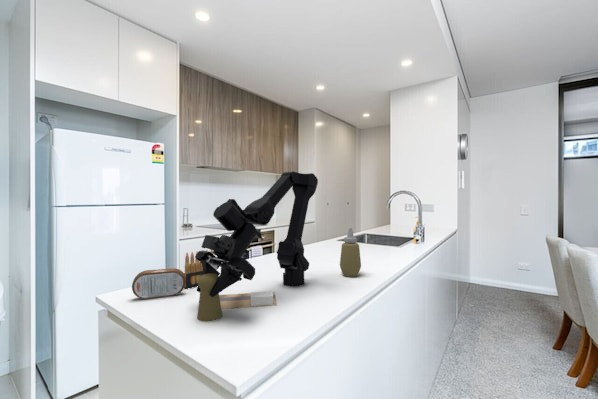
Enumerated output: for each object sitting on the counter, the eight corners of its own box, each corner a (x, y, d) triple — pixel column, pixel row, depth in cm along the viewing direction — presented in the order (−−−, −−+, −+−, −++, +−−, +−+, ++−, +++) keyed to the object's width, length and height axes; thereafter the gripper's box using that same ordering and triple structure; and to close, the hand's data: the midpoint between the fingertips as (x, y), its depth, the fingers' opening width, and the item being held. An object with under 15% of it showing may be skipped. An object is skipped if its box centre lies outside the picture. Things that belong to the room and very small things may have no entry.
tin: (186, 292, 93) (185, 266, 93) (186, 295, 90) (185, 268, 90) (133, 298, 88) (132, 271, 87) (131, 302, 85) (130, 273, 85)
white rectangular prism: (272, 299, 82) (272, 291, 82) (273, 304, 78) (273, 296, 78) (251, 300, 81) (251, 292, 81) (250, 306, 77) (250, 297, 77)
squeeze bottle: (364, 274, 112) (364, 227, 112) (356, 279, 105) (356, 230, 105) (344, 271, 116) (344, 226, 116) (336, 276, 109) (336, 228, 109)
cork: (200, 314, 74) (199, 271, 74) (224, 313, 74) (223, 270, 74) (193, 325, 68) (192, 278, 68) (220, 323, 68) (219, 277, 68)
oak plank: (274, 295, 89) (274, 291, 89) (277, 309, 78) (277, 305, 78) (207, 299, 86) (207, 295, 86) (200, 314, 75) (200, 310, 75)
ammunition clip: (185, 289, 96) (185, 253, 96) (183, 288, 97) (183, 252, 97) (215, 282, 103) (215, 249, 103) (213, 281, 104) (212, 248, 104)
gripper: (200, 221, 79) (161, 269, 71) (245, 225, 68) (205, 283, 59) (224, 245, 86) (191, 292, 77) (269, 252, 74) (236, 309, 66)
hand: (204, 293), depth 70 cm, fingers closed on cork, 5 cm apart
